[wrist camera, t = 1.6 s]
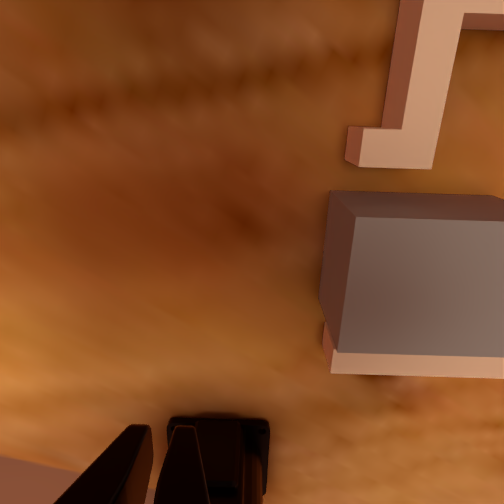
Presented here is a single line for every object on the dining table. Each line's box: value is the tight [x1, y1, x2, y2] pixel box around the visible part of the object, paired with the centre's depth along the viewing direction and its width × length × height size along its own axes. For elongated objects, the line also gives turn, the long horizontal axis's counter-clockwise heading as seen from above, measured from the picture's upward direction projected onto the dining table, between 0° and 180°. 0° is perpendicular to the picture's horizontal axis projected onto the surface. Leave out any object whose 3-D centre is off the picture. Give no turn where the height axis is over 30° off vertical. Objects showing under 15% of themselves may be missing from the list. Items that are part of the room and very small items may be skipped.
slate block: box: [318, 190, 504, 358], centre depth 17 cm, size 6×8×5 cm
